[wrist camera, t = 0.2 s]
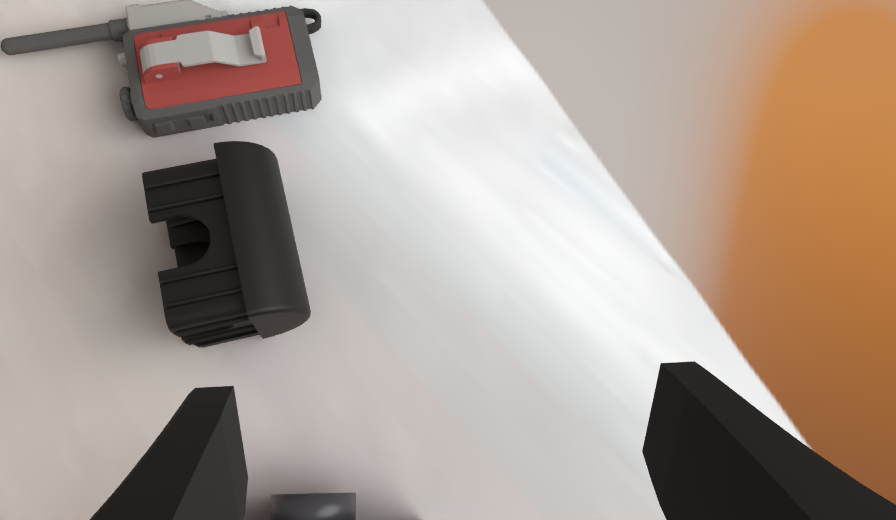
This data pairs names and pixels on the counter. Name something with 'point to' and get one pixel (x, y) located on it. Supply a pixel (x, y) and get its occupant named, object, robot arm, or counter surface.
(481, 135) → the counter surface
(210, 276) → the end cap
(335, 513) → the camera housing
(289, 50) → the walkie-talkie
